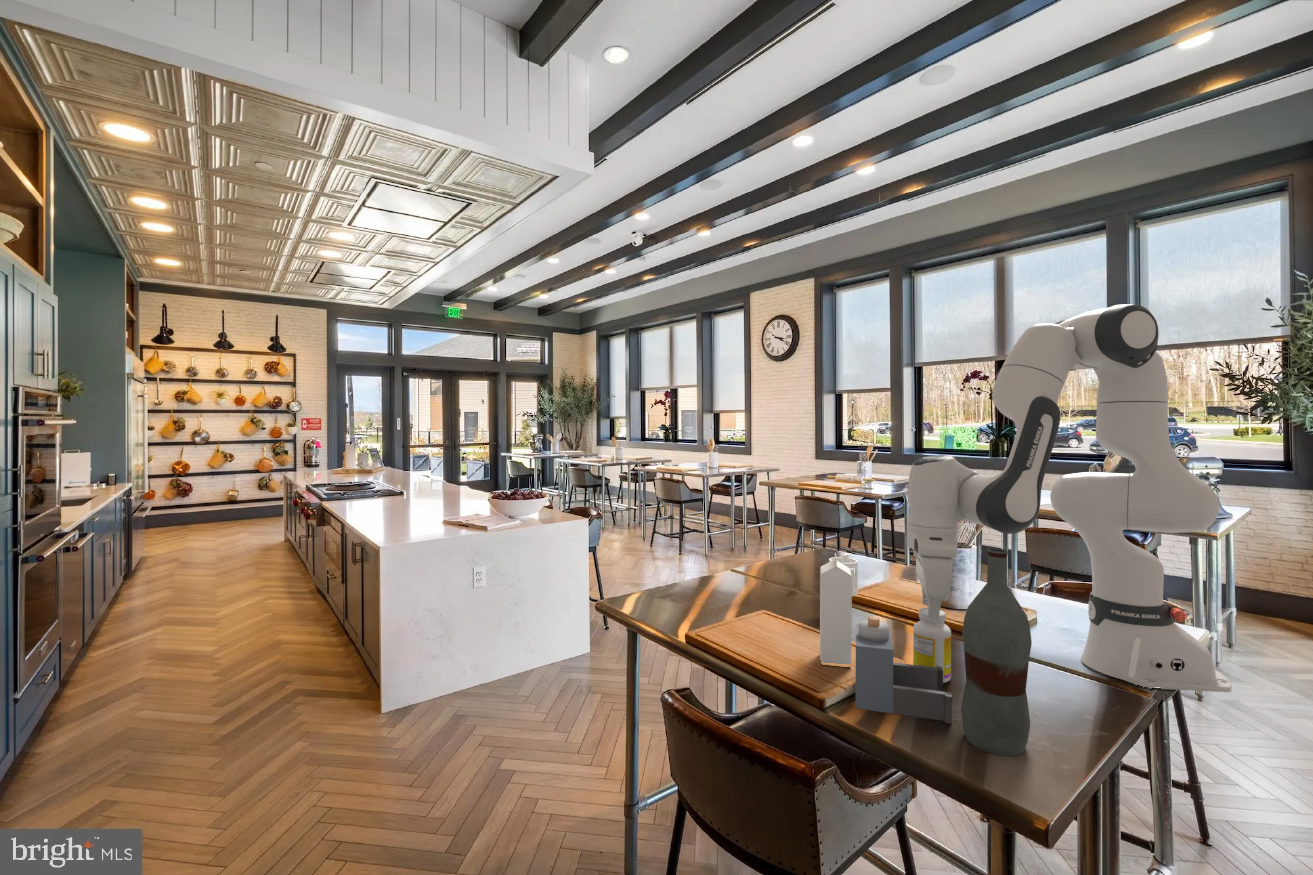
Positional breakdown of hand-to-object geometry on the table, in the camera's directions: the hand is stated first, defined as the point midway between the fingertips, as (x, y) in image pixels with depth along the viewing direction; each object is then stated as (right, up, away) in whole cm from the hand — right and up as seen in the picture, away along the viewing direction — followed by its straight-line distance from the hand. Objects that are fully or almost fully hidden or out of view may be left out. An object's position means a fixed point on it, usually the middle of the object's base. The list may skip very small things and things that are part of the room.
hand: (930, 611), depth 114 cm
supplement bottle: (+1, -13, +1) cm, 13 cm away
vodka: (0, -14, -22) cm, 26 cm away
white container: (-5, -12, +37) cm, 39 cm away
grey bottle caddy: (-9, -13, -7) cm, 18 cm away
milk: (-16, -13, +8) cm, 22 cm away
